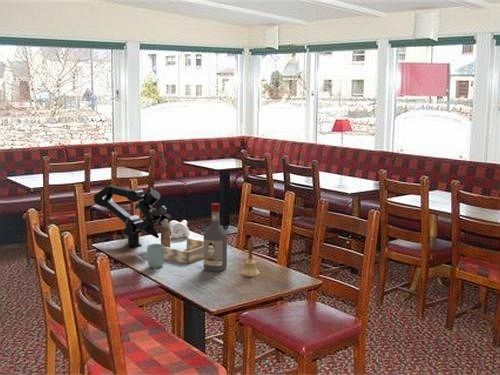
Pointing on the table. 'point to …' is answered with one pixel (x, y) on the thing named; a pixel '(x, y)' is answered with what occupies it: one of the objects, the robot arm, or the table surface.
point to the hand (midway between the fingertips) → (164, 235)
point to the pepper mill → (165, 233)
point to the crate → (186, 252)
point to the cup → (155, 255)
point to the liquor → (215, 243)
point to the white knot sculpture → (179, 229)
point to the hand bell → (250, 262)
